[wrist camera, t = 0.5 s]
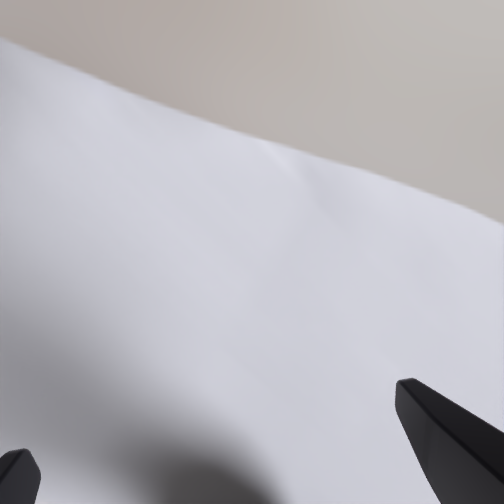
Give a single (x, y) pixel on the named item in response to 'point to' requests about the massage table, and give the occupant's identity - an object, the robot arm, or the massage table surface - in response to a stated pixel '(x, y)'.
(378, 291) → the massage table surface
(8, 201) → the massage table surface
